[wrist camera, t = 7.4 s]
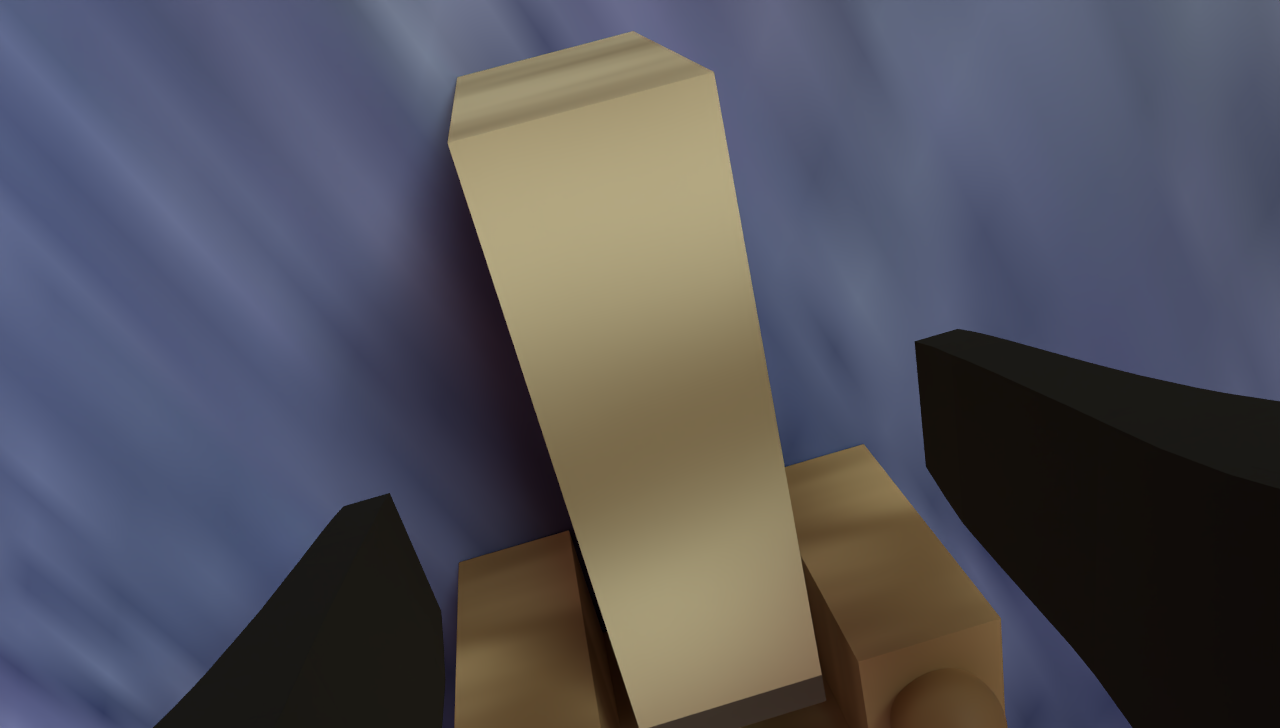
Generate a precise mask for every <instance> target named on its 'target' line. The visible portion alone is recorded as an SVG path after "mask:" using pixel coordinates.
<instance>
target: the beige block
mask: <svg viewBox="0 0 1280 728" xmlns="http://www.w3.org/2000/svg"><path fill="white" fill-rule="evenodd" d="M448 146H449V149H450V152H451V155H452V158H453V161H454V164H455V167H456V170H457V173H458V176H459V179H460V182H461V186H462V189H463V192H464V195H465V198H466V201H467V204H468V207H469V210H470V213H471V216H472V219H473V222H474V225H475V228H476V231H477V234H478V237H479V241H480V244H481V247H482V250H483V253H484V256H485V259H486V262H487V265H488V268H489V271H490V274H491V277H492V280H493V283H494V286H495V289H496V292H497V296H498V299H499V302H500V305H501V308H502V311H503V314H504V317H505V320H506V323H507V326H508V329H509V332H510V335H511V338H512V341H513V344H514V347H515V350H516V354H517V357H518V360H519V363H520V366H521V369H522V372H523V375H524V378H525V381H526V384H527V387H528V390H529V393H530V396H531V399H532V402H533V405H534V409H535V412H536V415H537V418H538V421H539V424H540V427H541V430H542V433H543V436H544V439H545V442H546V445H547V448H548V451H549V454H550V457H551V460H552V464H553V467H554V470H555V473H556V476H557V479H558V482H559V485H560V488H561V491H562V494H563V497H564V500H565V503H566V506H567V509H568V512H569V515H570V519H571V522H572V525H573V528H574V531H575V534H576V537H577V540H578V543H579V546H580V549H581V552H582V555H583V558H584V561H585V564H586V567H587V570H588V574H589V577H590V580H591V583H592V586H593V589H594V592H595V595H596V598H597V601H598V604H599V607H600V610H601V613H602V616H603V619H604V622H605V625H606V629H607V632H608V635H609V638H610V641H611V644H612V647H613V650H614V653H615V656H616V659H617V662H618V665H619V668H620V671H621V674H622V677H623V680H624V684H625V687H626V690H627V693H628V696H629V699H630V702H631V705H632V708H633V711H634V714H635V717H636V720H637V723H638V726H639V728H740V727H744V726H747V725H750V724H753V723H757V722H760V721H763V720H766V719H770V718H773V717H776V716H779V715H782V714H786V713H789V712H792V711H795V710H799V709H802V708H805V707H808V706H812V705H815V704H818V703H821V702H825V701H826V696H825V690H824V685H823V679H822V673H821V668H820V662H819V657H818V651H817V645H816V640H815V634H814V629H813V623H812V618H811V612H810V606H809V601H808V595H807V590H806V584H805V578H804V573H803V567H802V562H801V556H800V551H799V545H798V539H797V534H796V528H795V523H794V517H793V511H792V506H791V500H790V495H789V489H788V483H787V478H786V472H785V467H784V461H783V456H782V450H781V444H780V439H779V433H778V428H777V422H776V416H775V411H774V405H773V400H772V394H771V389H770V383H769V377H768V372H767V366H766V361H765V355H764V349H763V344H762V338H761V333H760V327H759V321H758V316H757V310H756V305H755V299H754V294H753V288H752V282H751V277H750V271H749V266H748V260H747V254H746V249H745V243H744V238H743V232H742V226H741V221H740V215H739V210H738V204H737V199H736V193H735V187H734V182H733V176H732V171H731V165H730V159H729V154H728V148H727V143H726V137H725V132H724V126H723V120H722V115H721V109H720V104H719V98H718V92H717V87H716V81H715V76H714V72H713V71H711V70H709V69H707V68H705V67H703V66H701V65H699V64H697V63H695V62H693V61H691V60H689V59H687V58H685V57H683V56H681V55H679V54H677V53H675V52H673V51H671V50H669V49H667V48H665V47H663V46H661V45H659V44H657V43H655V42H653V41H651V40H649V39H647V38H645V37H643V36H641V35H640V34H638V33H636V32H634V31H632V32H628V33H625V34H621V35H617V36H613V37H609V38H605V39H602V40H598V41H594V42H590V43H586V44H583V45H579V46H575V47H571V48H567V49H564V50H560V51H556V52H552V53H548V54H545V55H541V56H537V57H533V58H529V59H525V60H522V61H518V62H514V63H510V64H506V65H503V66H499V67H495V68H491V69H487V70H484V71H480V72H476V73H472V74H468V75H464V76H461V77H457V84H456V90H455V97H454V104H453V110H452V117H451V124H450V130H449V137H448Z"/></svg>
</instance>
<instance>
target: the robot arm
mask: <svg viewBox="0 0 1280 728" xmlns="http://www.w3.org/2000/svg"><path fill="white" fill-rule="evenodd" d="M915 350H916V362H917V373H918V384H919V395H920V406H921V417H922V428H923V439H924V450H925V461H926V467H927V469H928V471H929V472H930V474H931V475H932V477H933V478H934V480H935V482H936V483H937V485H938V486H939V488H940V489H941V491H942V493H943V494H944V496H945V497H946V499H947V500H948V502H949V503H950V505H951V506H952V508H953V509H954V511H955V512H956V514H957V515H958V517H959V518H960V519H961V521H962V522H963V524H964V525H965V526H966V527H967V528H968V530H969V531H970V532H971V533H972V534H973V536H974V537H975V538H976V539H977V540H978V541H979V542H980V544H981V545H982V546H983V547H984V548H985V549H986V550H987V552H988V553H989V554H990V555H991V556H992V557H993V558H994V560H995V561H996V562H997V563H998V564H999V565H1000V566H1001V568H1002V569H1003V570H1004V571H1005V572H1006V573H1007V574H1008V575H1009V577H1010V578H1011V579H1012V580H1013V581H1014V582H1015V583H1016V584H1017V586H1018V587H1019V588H1020V589H1021V590H1022V591H1023V592H1024V593H1025V595H1026V596H1027V597H1028V598H1029V599H1030V600H1031V601H1032V602H1033V604H1034V605H1035V606H1036V607H1037V608H1038V609H1039V610H1040V611H1041V613H1042V614H1043V615H1044V616H1045V617H1046V618H1047V619H1048V620H1049V622H1050V623H1051V624H1052V625H1053V626H1054V627H1055V628H1056V629H1057V630H1058V632H1059V633H1060V634H1061V635H1062V636H1063V637H1064V638H1065V639H1066V641H1067V642H1068V643H1069V644H1070V645H1071V646H1072V648H1073V649H1074V650H1075V651H1076V652H1077V654H1078V655H1079V656H1080V657H1081V659H1082V660H1083V661H1084V662H1085V664H1086V665H1087V666H1088V667H1089V668H1090V670H1091V671H1092V672H1093V673H1094V675H1095V676H1096V677H1097V679H1098V680H1099V681H1100V683H1101V684H1102V686H1103V687H1104V688H1105V690H1106V691H1107V693H1108V694H1109V695H1110V697H1111V698H1112V700H1113V701H1114V702H1115V704H1116V705H1117V707H1118V708H1119V709H1120V711H1121V712H1122V713H1123V715H1124V716H1125V718H1126V719H1127V720H1128V722H1129V723H1130V725H1131V726H1132V727H1133V728H1280V401H1273V400H1267V399H1260V398H1254V397H1247V396H1241V395H1234V394H1228V393H1222V392H1217V391H1211V390H1206V389H1200V388H1195V387H1191V386H1186V385H1181V384H1177V383H1172V382H1168V381H1163V380H1159V379H1154V378H1150V377H1145V376H1140V375H1136V374H1132V373H1128V372H1124V371H1120V370H1116V369H1112V368H1108V367H1104V366H1100V365H1097V364H1093V363H1089V362H1085V361H1082V360H1078V359H1074V358H1070V357H1067V356H1063V355H1060V354H1056V353H1052V352H1049V351H1045V350H1042V349H1038V348H1034V347H1031V346H1027V345H1024V344H1020V343H1016V342H1013V341H1009V340H1005V339H1001V338H998V337H994V336H990V335H986V334H981V333H977V332H972V331H967V330H961V329H956V330H953V331H949V332H946V333H942V334H939V335H935V336H932V337H928V338H925V339H921V340H918V341H915ZM444 693H445V663H444V644H443V631H442V617H441V610H440V607H439V605H438V603H437V600H436V598H435V596H434V594H433V591H432V589H431V587H430V584H429V582H428V580H427V578H426V575H425V573H424V571H423V568H422V566H421V564H420V562H419V559H418V557H417V555H416V552H415V550H414V548H413V546H412V543H411V541H410V539H409V536H408V534H407V532H406V529H405V527H404V525H403V523H402V520H401V518H400V516H399V513H398V511H397V509H396V507H395V504H394V502H393V500H392V497H391V495H390V493H388V494H385V495H381V496H378V497H374V498H371V499H367V500H364V501H360V502H357V503H354V504H350V505H347V506H344V507H343V508H342V509H341V510H340V511H339V512H338V513H337V514H336V515H335V516H334V518H333V519H332V520H331V521H330V522H329V524H328V525H327V526H326V527H325V529H324V530H323V531H322V532H321V534H320V535H319V536H318V538H317V539H316V540H315V541H314V543H313V544H312V545H311V547H310V548H309V549H308V550H307V552H306V553H305V554H304V556H303V557H302V558H301V560H300V561H299V562H298V563H297V565H296V566H295V567H294V569H293V570H292V571H291V572H290V574H289V575H288V576H287V577H286V579H285V580H284V581H283V582H282V584H281V585H280V586H279V588H278V589H277V590H276V591H275V593H274V594H273V595H272V596H271V598H270V599H269V600H268V601H267V603H266V604H265V605H264V607H263V608H262V609H261V610H260V611H259V613H258V614H257V615H256V616H255V617H254V619H253V620H252V621H251V622H250V623H249V624H248V625H247V627H246V628H245V629H244V630H243V631H242V632H241V634H240V635H239V636H238V637H237V638H236V639H235V641H234V642H233V643H232V644H231V645H230V646H229V647H228V649H227V650H226V651H225V652H224V653H223V654H222V656H221V657H220V658H219V659H218V660H217V661H216V662H215V664H214V665H213V666H212V667H211V668H210V669H209V671H208V672H207V673H206V674H205V675H204V676H203V677H202V678H201V679H200V680H199V682H198V683H197V684H196V685H195V686H194V687H193V688H192V689H191V690H190V691H189V692H188V693H187V694H186V695H185V696H184V697H183V698H182V699H181V700H180V701H179V703H178V704H177V705H176V706H175V707H174V708H173V709H172V710H171V711H170V712H169V713H168V714H167V715H166V716H165V717H164V718H163V719H161V720H160V721H159V722H158V723H157V724H156V725H155V726H154V727H153V728H442V721H443V707H444Z"/></svg>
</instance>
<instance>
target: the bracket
mask: <svg viewBox="0 0 1280 728" xmlns="http://www.w3.org/2000/svg"><path fill="white" fill-rule="evenodd" d="M785 472H786V478H787V483H788V489H789V495H790V500H791V506H792V511H793V517H794V523H795V528H796V534H797V539H798V545H799V551H800V556H801V562H802V567H803V573H804V578H805V584H806V590H807V595H808V601H809V606H810V612H811V618H812V623H813V629H814V634H815V640H816V645H817V651H818V657H819V662H820V668H821V673H822V679H823V685H824V690H825V696H826V701H825V702H821V703H818V704H815V705H812V706H808V707H805V708H802V709H799V710H795V711H792V712H789V713H786V714H782V715H779V716H776V717H773V718H770V719H766V720H763V721H760V722H757V723H753V724H750V725H747V726H744V727H740V728H1007V721H1006V717H1005V705H1004V682H1003V659H1002V635H1001V618H1000V617H999V615H998V614H997V613H996V612H995V610H994V609H993V608H992V607H991V605H990V604H989V603H988V601H987V600H986V599H985V598H984V596H983V595H982V594H981V593H980V591H979V590H978V589H977V588H976V586H975V585H974V584H973V582H972V581H971V580H970V579H969V577H968V576H967V575H966V574H965V572H964V571H963V570H962V568H961V567H960V566H959V565H958V563H957V562H956V561H955V560H954V558H953V557H952V556H951V554H950V553H949V552H948V551H947V549H946V548H945V547H944V546H943V544H942V543H941V542H940V541H939V539H938V538H937V537H936V535H935V534H934V533H933V532H932V530H931V529H930V528H929V527H928V525H927V524H926V523H925V521H924V520H923V519H922V518H921V516H920V515H919V514H918V513H917V511H916V510H915V509H914V508H913V506H912V505H911V504H910V502H909V501H908V500H907V499H906V497H905V496H904V495H903V494H902V492H901V491H900V490H899V488H898V487H897V486H896V485H895V483H894V482H893V481H892V480H891V478H890V477H889V476H888V475H887V473H886V472H885V471H884V469H883V468H882V467H881V466H880V464H879V463H878V462H877V461H876V459H875V458H874V457H873V455H872V454H871V453H870V452H869V450H868V449H867V448H866V447H865V445H864V444H863V445H859V446H856V447H852V448H849V449H845V450H842V451H839V452H835V453H832V454H828V455H825V456H822V457H818V458H815V459H811V460H808V461H804V462H801V463H798V464H794V465H791V466H787V467H785ZM454 728H639V726H638V723H637V720H636V717H635V714H634V711H633V708H632V705H631V702H630V699H629V696H628V693H627V690H626V687H625V684H624V680H623V677H622V674H621V671H620V668H619V665H618V662H617V659H616V656H615V653H614V650H613V647H612V644H611V641H610V638H609V635H608V632H604V633H603V632H602V629H601V626H600V623H599V620H598V617H597V614H596V611H595V608H594V605H593V602H592V599H591V596H590V593H589V590H588V587H587V584H586V581H585V578H584V575H583V572H582V569H581V566H580V563H579V560H578V557H577V553H576V550H575V547H574V544H573V541H572V538H571V535H570V532H569V530H568V531H565V532H562V533H558V534H555V535H551V536H548V537H544V538H541V539H538V540H534V541H531V542H527V543H524V544H521V545H517V546H514V547H510V548H507V549H503V550H500V551H497V552H493V553H490V554H486V555H483V556H479V557H476V558H473V559H469V560H466V561H462V562H459V577H458V614H457V651H456V689H455V726H454Z"/></svg>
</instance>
